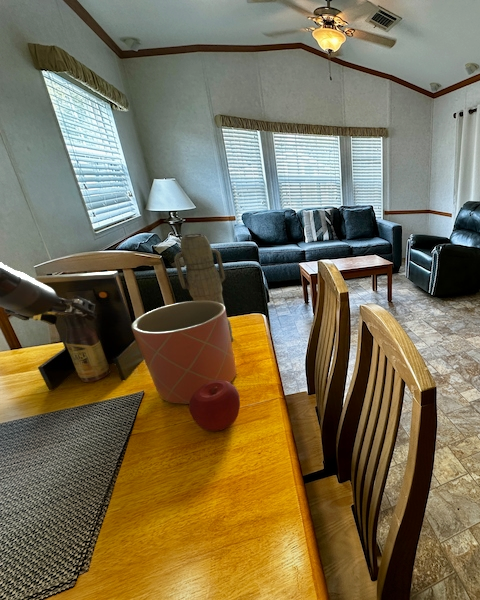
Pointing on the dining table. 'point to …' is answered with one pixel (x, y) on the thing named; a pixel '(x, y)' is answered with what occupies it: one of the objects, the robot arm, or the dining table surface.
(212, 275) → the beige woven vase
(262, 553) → the dining table surface
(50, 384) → the dispenser
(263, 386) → the dining table surface
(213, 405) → the apple
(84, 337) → the sauce bottle
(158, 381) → the planter
